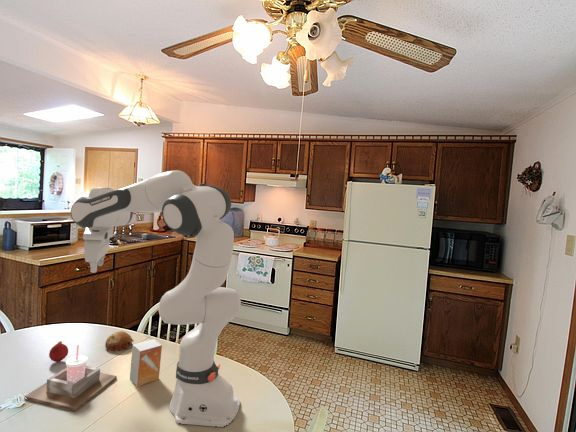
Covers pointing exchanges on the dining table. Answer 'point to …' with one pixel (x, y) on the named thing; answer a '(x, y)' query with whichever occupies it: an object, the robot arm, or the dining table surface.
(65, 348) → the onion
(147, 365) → the small box
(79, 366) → the beverage cup
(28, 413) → the dining table surface
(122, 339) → the bread roll
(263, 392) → the dining table surface
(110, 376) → the walnut board
